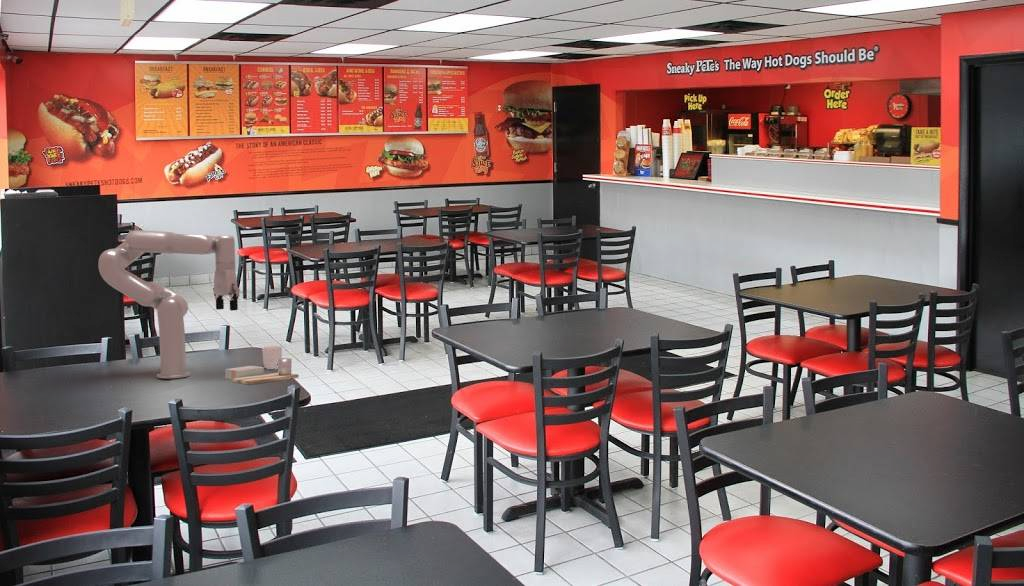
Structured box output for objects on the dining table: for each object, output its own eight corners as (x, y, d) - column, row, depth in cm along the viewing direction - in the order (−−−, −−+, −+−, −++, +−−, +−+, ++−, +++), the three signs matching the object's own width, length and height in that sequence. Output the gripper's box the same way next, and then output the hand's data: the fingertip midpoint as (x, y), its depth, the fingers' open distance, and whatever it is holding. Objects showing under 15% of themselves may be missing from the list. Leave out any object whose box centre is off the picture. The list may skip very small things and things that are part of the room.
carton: (225, 379, 381) (224, 369, 381) (251, 375, 390) (251, 365, 390) (237, 381, 375) (237, 370, 375) (264, 377, 384) (263, 367, 384)
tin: (275, 374, 380) (275, 359, 379) (283, 373, 385) (283, 357, 384) (286, 375, 378) (286, 360, 378) (293, 374, 383) (294, 358, 382)
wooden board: (232, 381, 373) (231, 378, 373) (280, 375, 389) (280, 372, 389) (250, 384, 365) (250, 381, 365) (298, 377, 381) (298, 374, 381)
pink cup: (264, 370, 404) (263, 346, 404) (283, 369, 405) (283, 345, 405) (261, 372, 397) (260, 348, 396) (281, 372, 397) (280, 347, 397)
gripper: (205, 266, 390) (206, 309, 391) (229, 267, 379) (230, 311, 380) (221, 266, 396) (222, 308, 397) (246, 266, 384) (247, 310, 386)
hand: (226, 309), depth 388 cm, fingers open, 9 cm apart
